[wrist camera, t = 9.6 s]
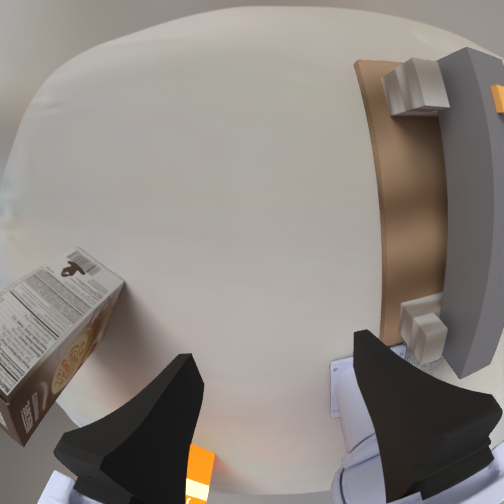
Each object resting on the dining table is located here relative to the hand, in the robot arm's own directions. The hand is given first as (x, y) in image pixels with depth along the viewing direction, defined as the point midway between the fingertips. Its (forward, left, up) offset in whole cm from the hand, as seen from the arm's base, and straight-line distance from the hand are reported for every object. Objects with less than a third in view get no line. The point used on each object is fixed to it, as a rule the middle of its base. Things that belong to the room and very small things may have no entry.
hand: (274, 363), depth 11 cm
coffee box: (0, +18, -11) cm, 21 cm away
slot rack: (+3, -15, -10) cm, 18 cm away
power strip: (+3, -15, -7) cm, 17 cm away
